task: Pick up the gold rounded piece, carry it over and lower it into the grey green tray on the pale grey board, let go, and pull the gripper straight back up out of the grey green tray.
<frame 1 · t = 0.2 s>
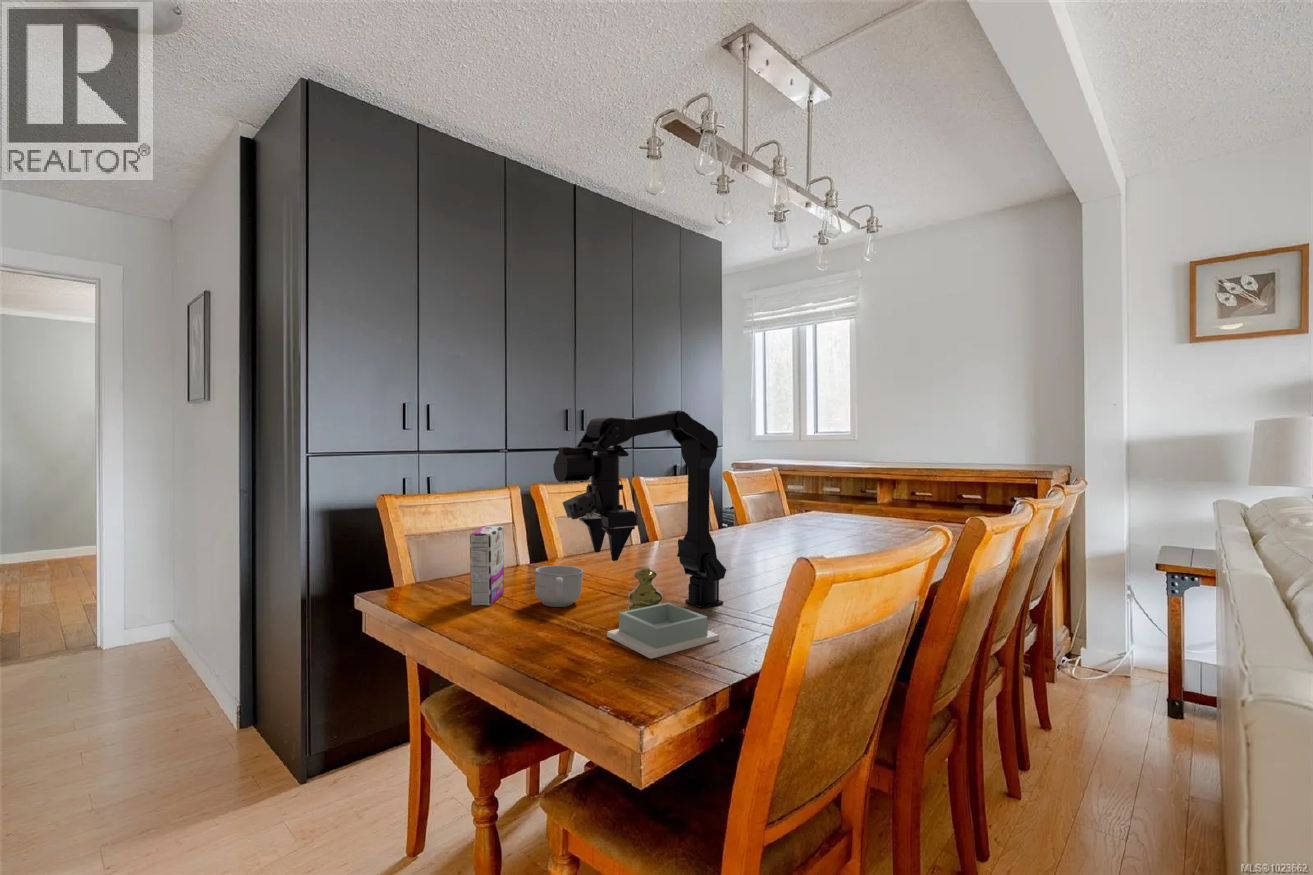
hand: (605, 556, 122), 14 cm above the table, tool pointing down, fingers open, 9 cm apart
candy bar box: (487, 600, 140), on the table
gold rounded piece: (645, 615, 129), on the table
grey green tray: (662, 638, 114), on the table
teacup: (557, 606, 135), on the table
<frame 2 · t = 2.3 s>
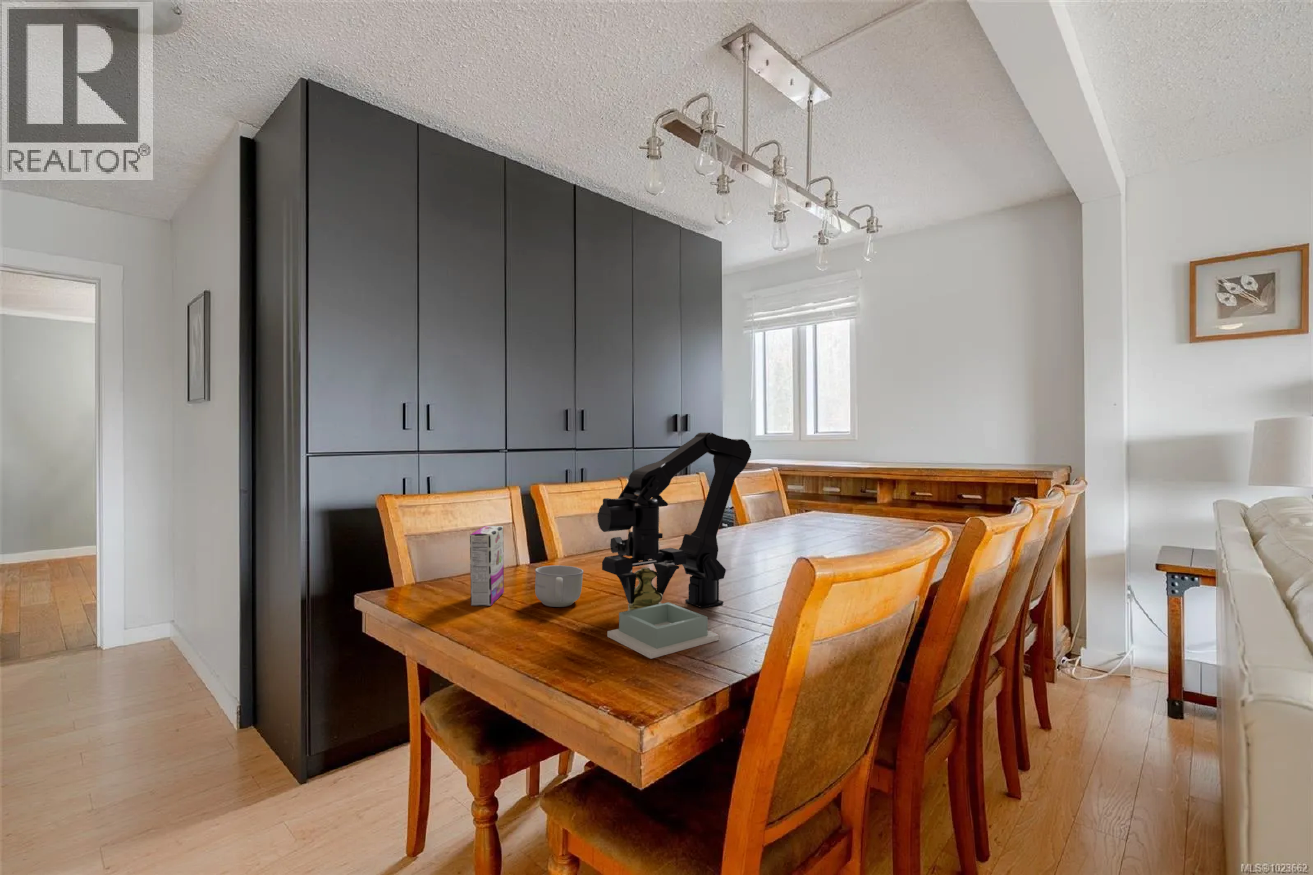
hand: (645, 600, 129), 3 cm above the table, tool pointing down, fingers closed on gold rounded piece, 7 cm apart
gold rounded piece: (645, 615, 129), on the table, touching gripper
everything else where it was.
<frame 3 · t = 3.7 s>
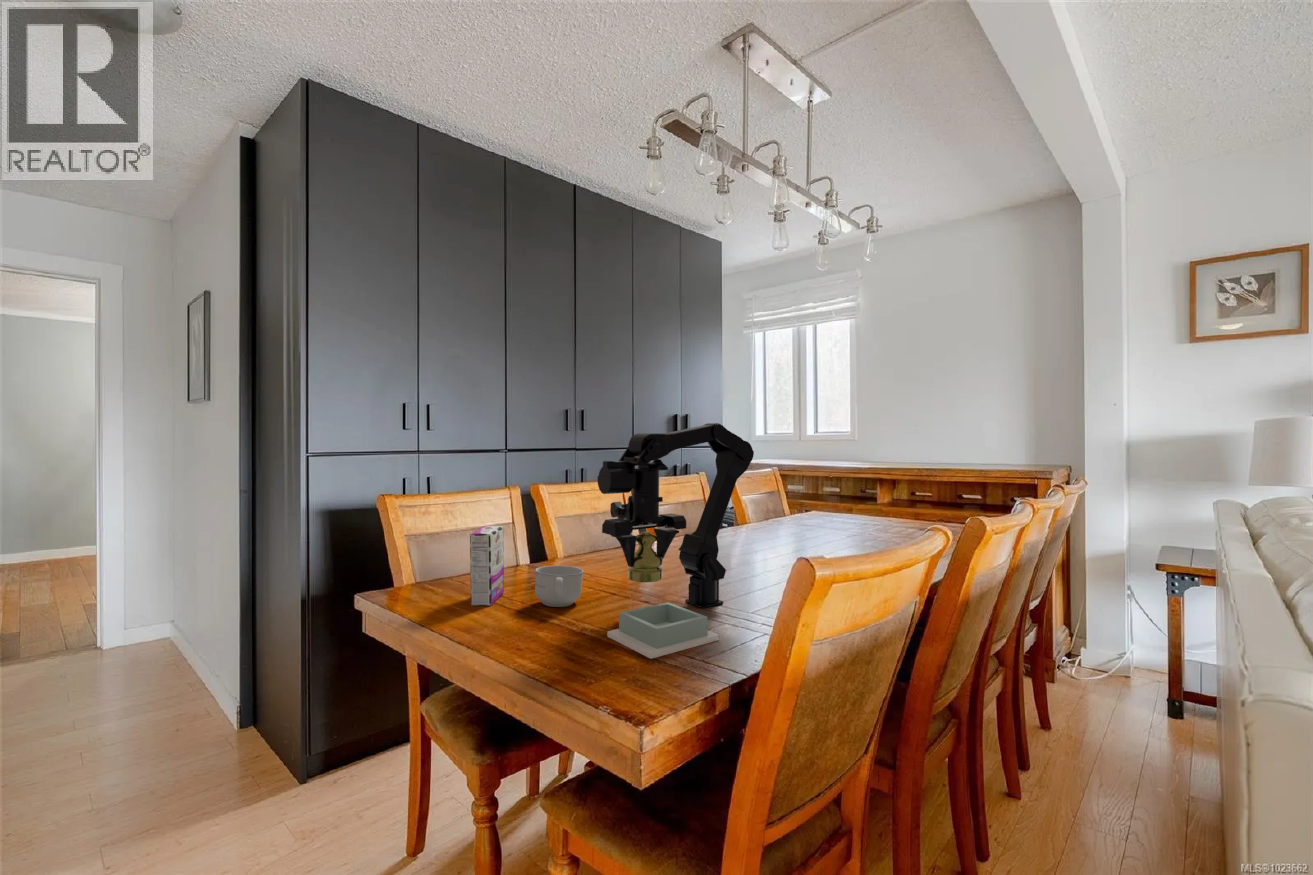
hand: (645, 564, 129), 11 cm above the table, tool pointing down, fingers closed on gold rounded piece, 7 cm apart
gold rounded piece: (645, 579, 129), point 8 cm above the table, touching gripper
everything else where it was.
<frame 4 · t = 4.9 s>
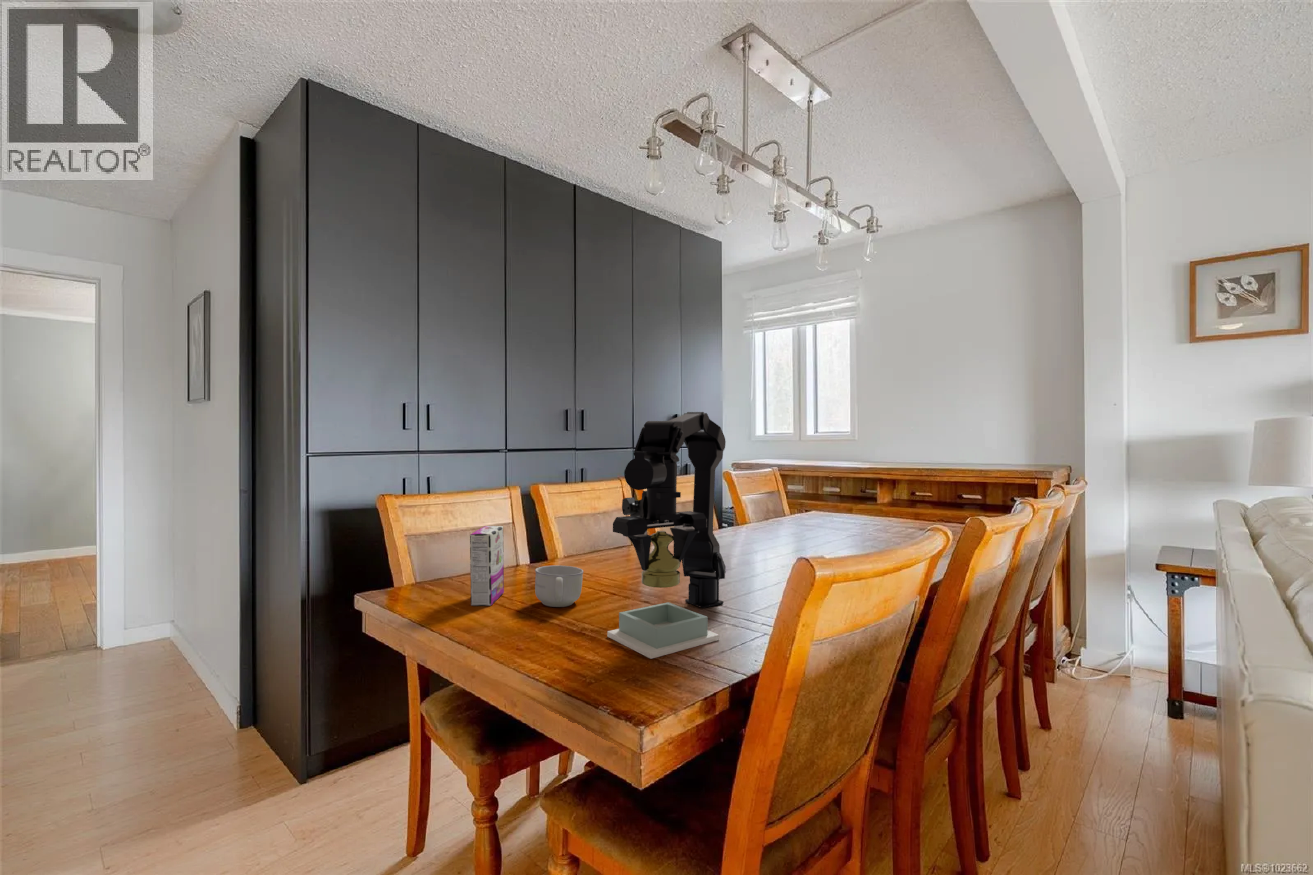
hand: (660, 567, 115), 13 cm above the table, tool pointing down, fingers closed on gold rounded piece, 7 cm apart
gold rounded piece: (660, 584, 115), point 10 cm above the table, touching gripper
everything else where it was.
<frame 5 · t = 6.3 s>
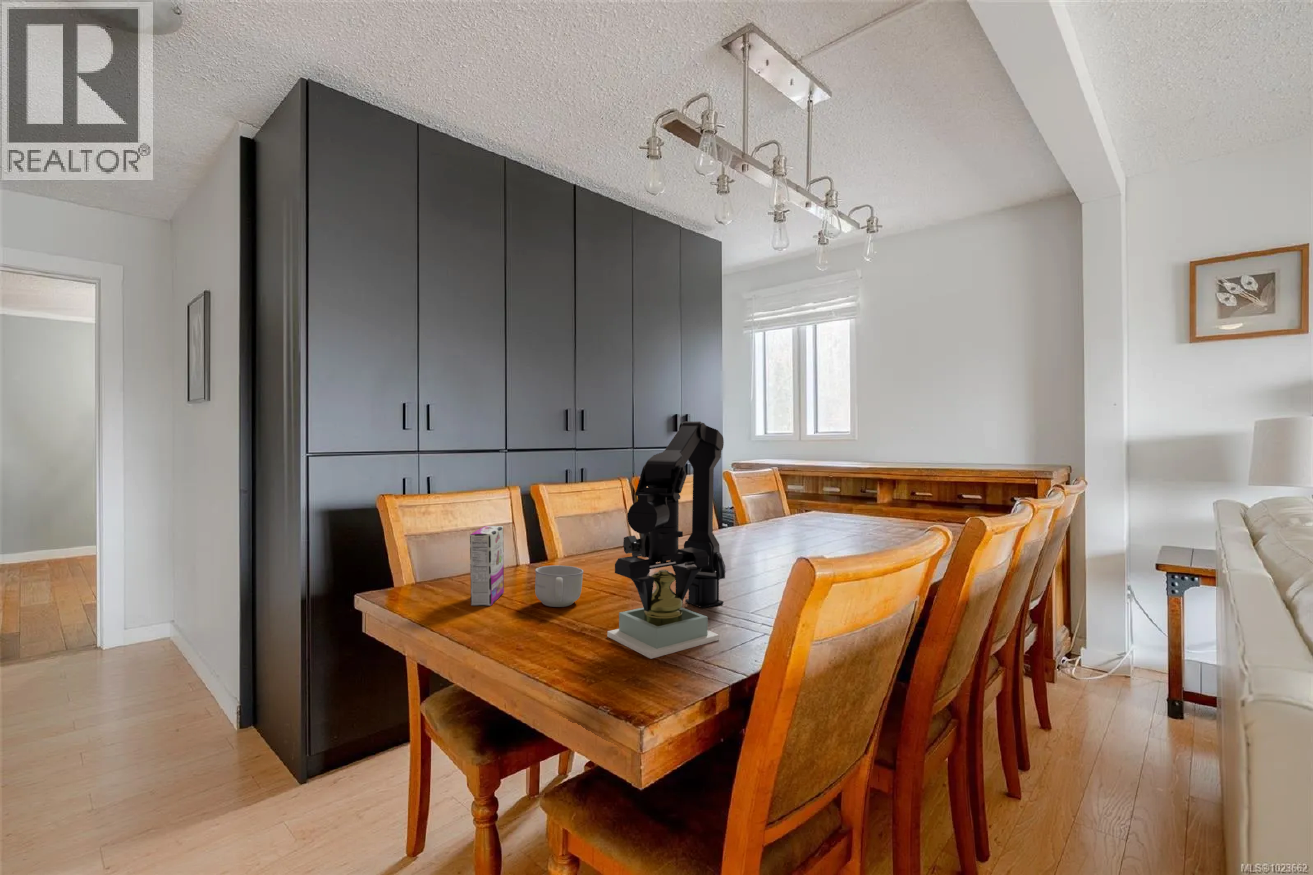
hand: (663, 607, 114), 6 cm above the table, tool pointing down, fingers closed on gold rounded piece, 7 cm apart
gold rounded piece: (663, 624, 114), point 3 cm above the table, touching gripper
everything else where it was.
when the fingers open (5 cm above the table, at t = 7.4 s): gold rounded piece drops 1 cm, resting on grey green tray.
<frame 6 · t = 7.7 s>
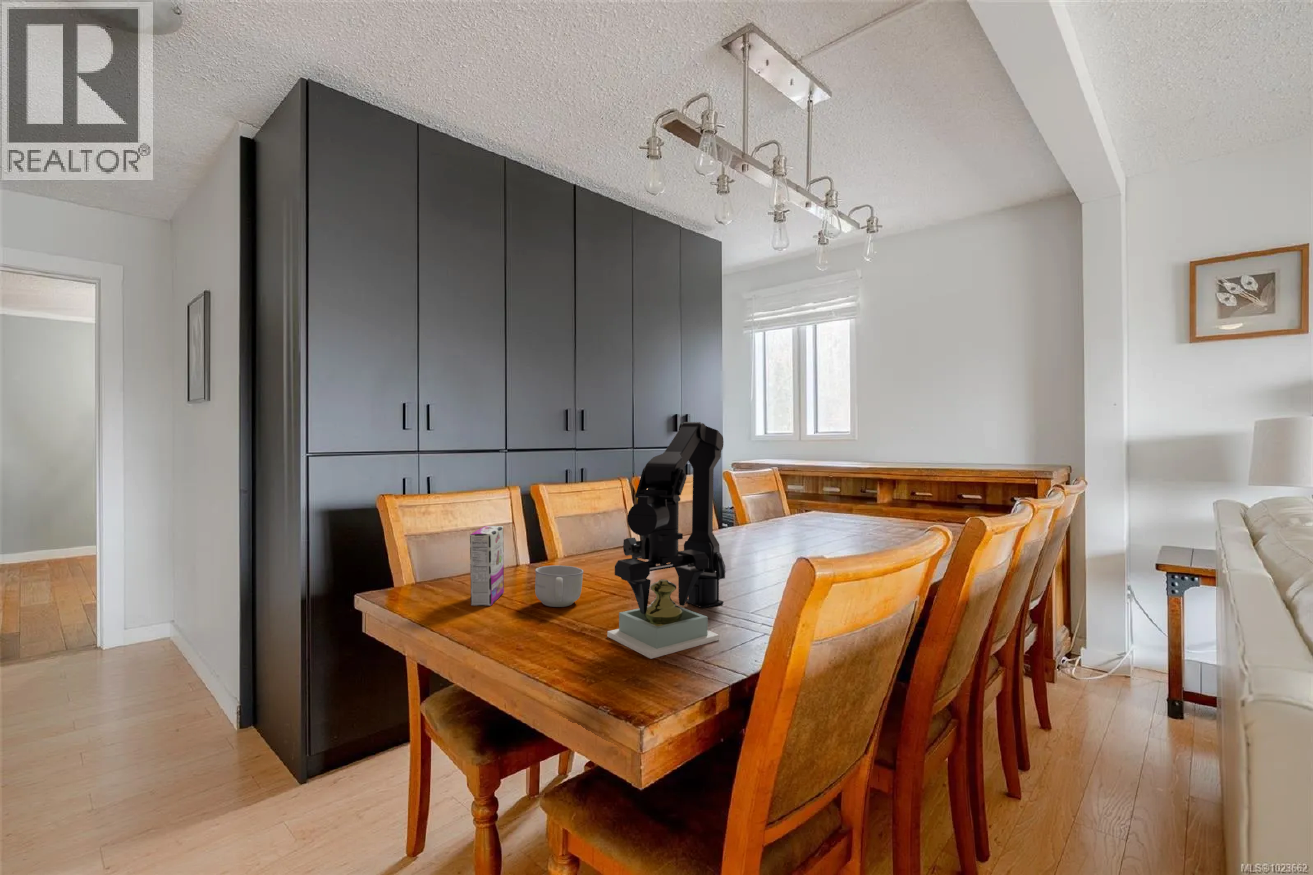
hand: (662, 609, 114), 5 cm above the table, tool pointing down, fingers open, 9 cm apart
gold rounded piece: (663, 633, 114), point 1 cm above the table, touching grey green tray
everything else where it was.
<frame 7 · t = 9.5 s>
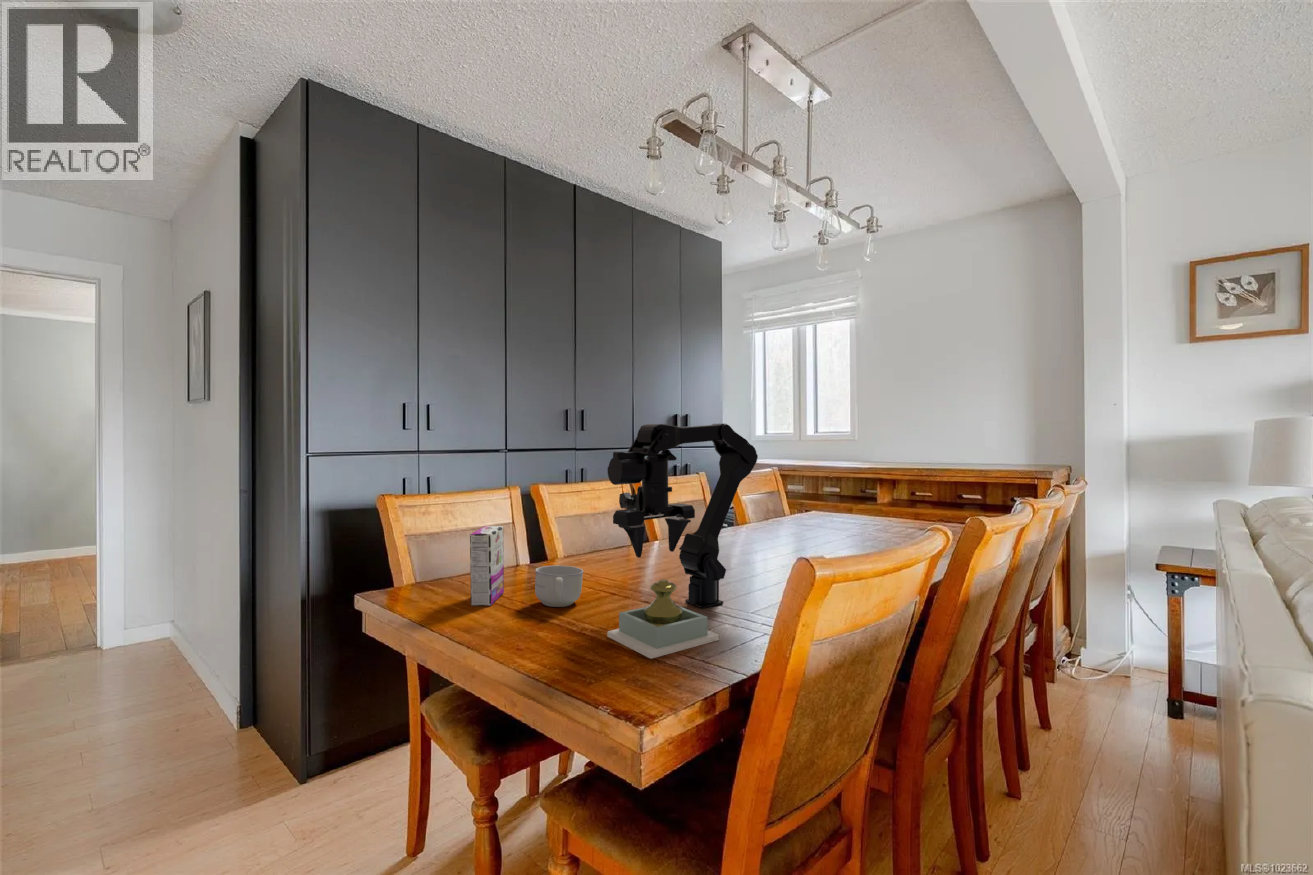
hand: (655, 554, 130), 13 cm above the table, tool pointing down, fingers open, 9 cm apart
nothing on the table moved.
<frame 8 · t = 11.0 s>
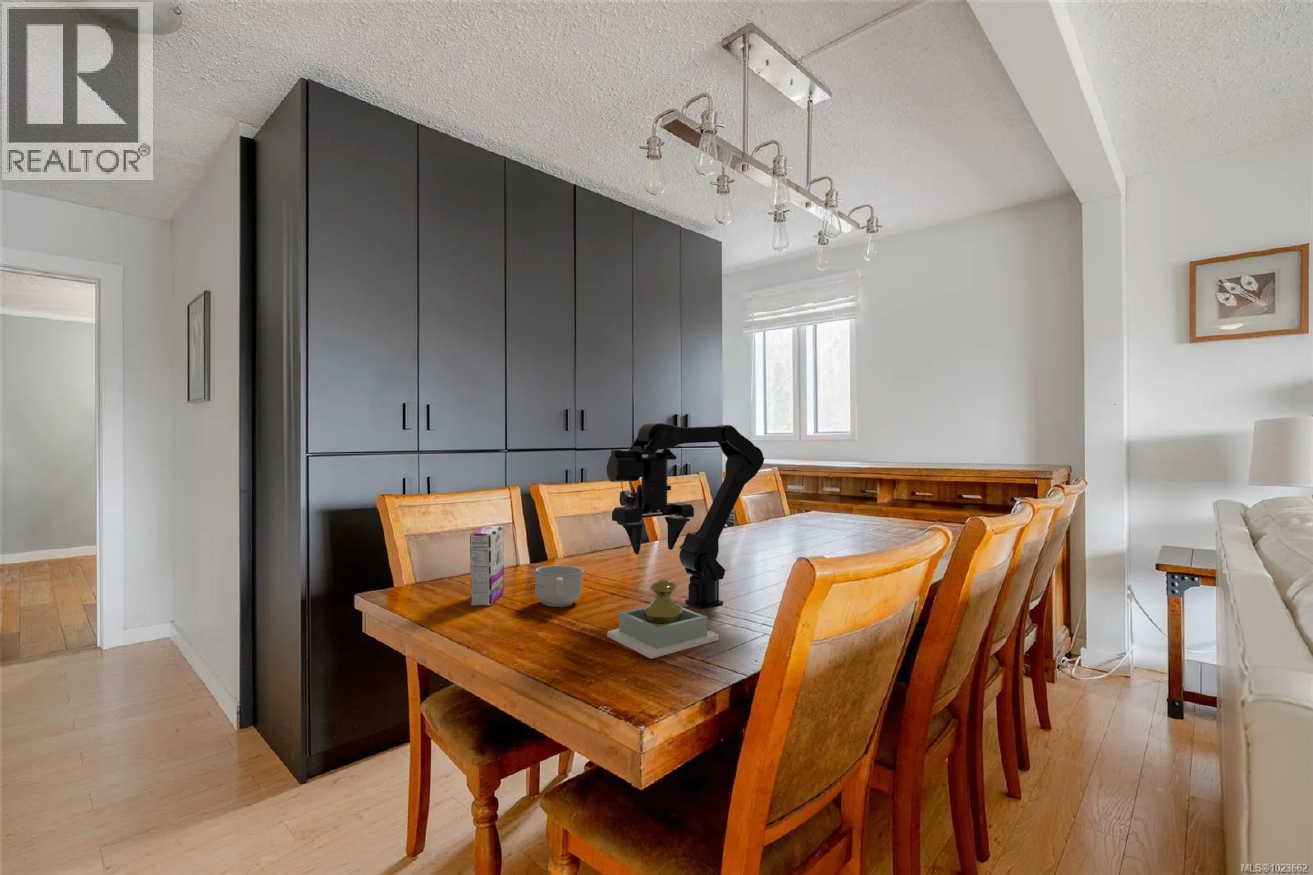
hand: (653, 551, 131), 13 cm above the table, tool pointing down, fingers open, 9 cm apart
nothing on the table moved.
at the end: gold rounded piece 0.1 cm off-centre on the grey green tray, point 0.8 cm above the grey green tray's base; gold rounded piece tilted 0°; the gripper is holding nothing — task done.
